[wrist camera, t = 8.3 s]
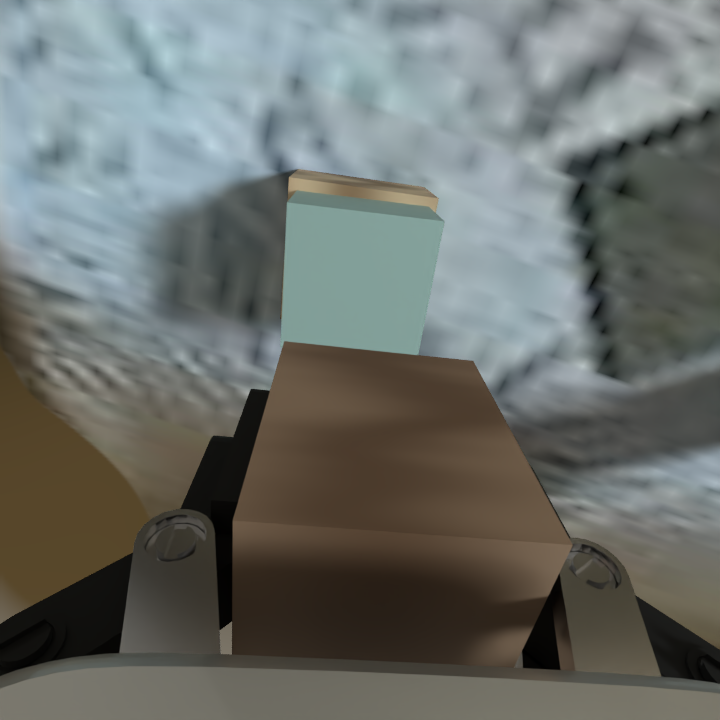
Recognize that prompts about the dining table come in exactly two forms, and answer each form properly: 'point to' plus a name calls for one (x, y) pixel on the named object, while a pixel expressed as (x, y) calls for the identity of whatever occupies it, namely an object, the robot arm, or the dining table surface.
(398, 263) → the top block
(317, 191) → the bottom block
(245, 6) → the dining table surface
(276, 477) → the walnut block
